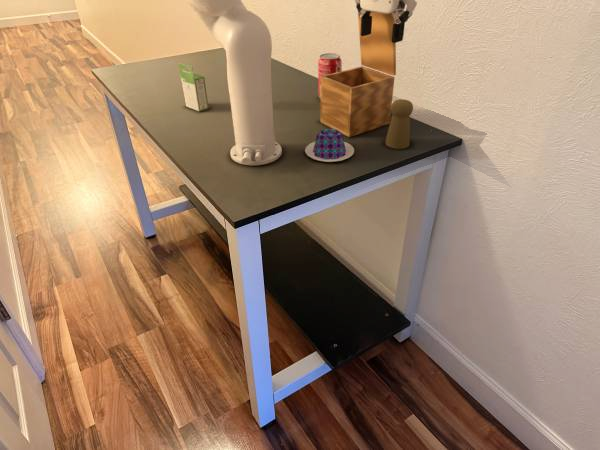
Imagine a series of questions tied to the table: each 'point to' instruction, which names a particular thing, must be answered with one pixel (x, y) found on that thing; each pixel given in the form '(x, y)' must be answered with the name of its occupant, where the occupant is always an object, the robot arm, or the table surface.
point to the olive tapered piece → (399, 124)
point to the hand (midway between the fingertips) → (381, 38)
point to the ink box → (194, 89)
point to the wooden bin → (356, 100)
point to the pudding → (329, 146)
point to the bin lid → (379, 44)
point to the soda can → (328, 66)
